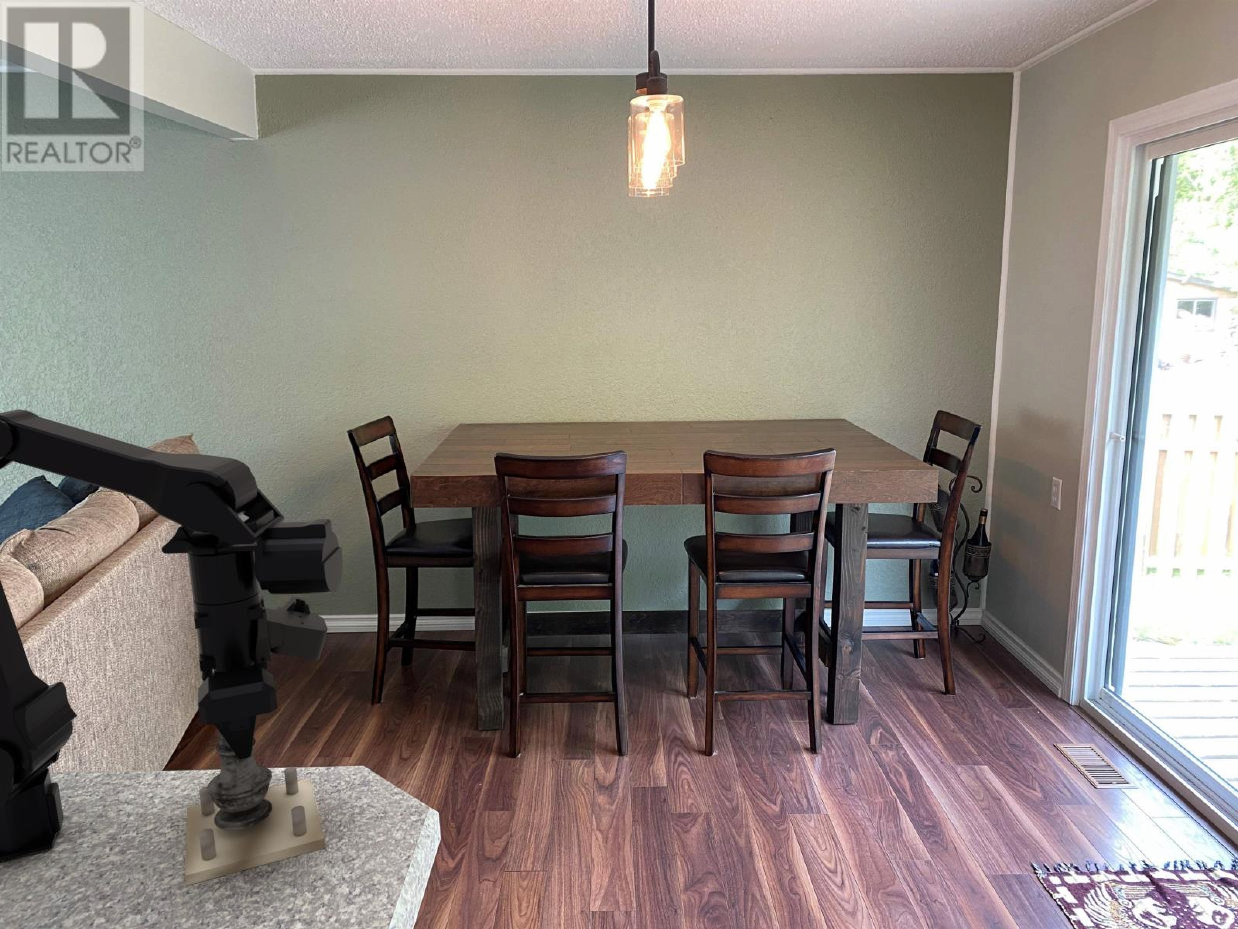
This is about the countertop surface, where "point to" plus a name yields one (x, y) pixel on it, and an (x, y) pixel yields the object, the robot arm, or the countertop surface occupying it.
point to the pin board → (253, 832)
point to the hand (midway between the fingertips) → (244, 748)
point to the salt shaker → (239, 790)
